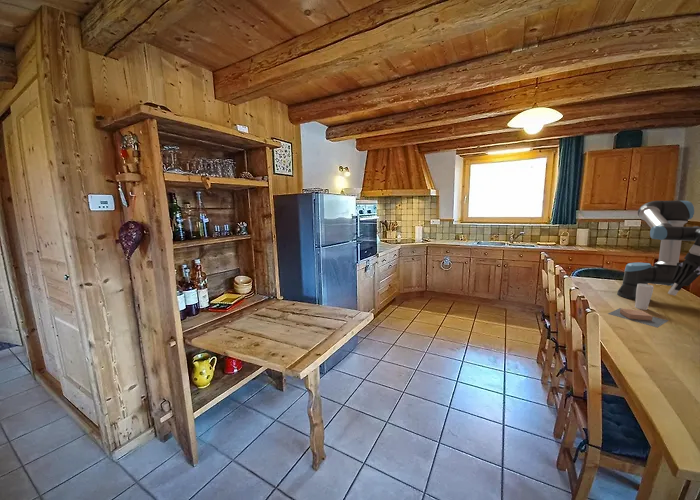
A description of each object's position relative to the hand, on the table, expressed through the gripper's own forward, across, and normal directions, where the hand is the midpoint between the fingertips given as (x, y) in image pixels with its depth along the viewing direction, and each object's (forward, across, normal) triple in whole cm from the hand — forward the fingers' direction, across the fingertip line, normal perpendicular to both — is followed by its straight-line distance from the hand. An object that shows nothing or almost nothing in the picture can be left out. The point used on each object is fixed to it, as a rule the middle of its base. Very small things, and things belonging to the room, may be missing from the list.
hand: (671, 294), depth 150 cm
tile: (+14, -4, +7) cm, 16 cm away
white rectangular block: (+16, +12, -1) cm, 21 cm away
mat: (+17, -4, +10) cm, 20 cm away
